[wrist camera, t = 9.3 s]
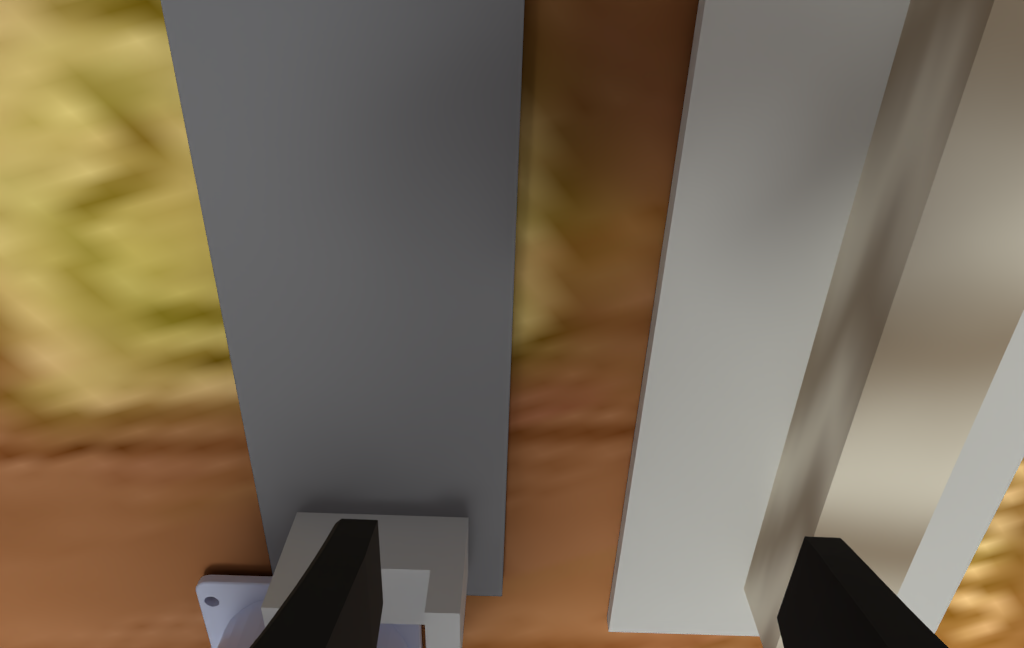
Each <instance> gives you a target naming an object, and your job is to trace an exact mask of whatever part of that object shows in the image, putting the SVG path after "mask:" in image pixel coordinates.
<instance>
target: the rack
mask: <svg viewBox="0 0 1024 648" xmlns="http://www.w3.org/2000/svg"><path fill="white" fill-rule="evenodd" d="M524 1H525V0H161V4H162V9H163V15H164V20H165V25H166V30H167V35H168V40H169V45H170V50H171V56H172V61H173V66H174V71H175V76H176V81H177V86H178V92H179V97H180V102H181V107H182V112H183V117H184V122H185V127H186V133H187V138H188V143H189V148H190V153H191V158H192V163H193V168H194V174H195V179H196V184H197V189H198V194H199V199H200V204H201V210H202V215H203V220H204V225H205V230H206V235H207V240H208V245H209V251H210V256H211V261H212V266H213V271H214V276H215V281H216V286H217V292H218V297H219V302H220V307H221V312H222V317H223V322H224V327H225V333H226V338H227V343H228V348H229V353H230V358H231V363H232V369H233V374H234V379H235V384H236V389H237V394H238V399H239V404H240V410H241V415H242V420H243V425H244V430H245V435H246V440H247V445H248V451H249V456H250V461H251V466H252V471H253V476H254V481H255V487H256V492H257V497H258V502H259V507H260V512H261V517H262V522H263V528H264V533H265V538H266V543H267V548H268V553H269V558H270V563H271V569H272V574H273V577H272V580H271V582H270V585H269V588H268V590H267V593H266V595H265V598H264V601H263V603H262V606H261V611H262V615H263V620H264V625H265V627H266V626H267V625H268V623H269V622H270V621H271V619H272V618H273V616H274V615H275V614H276V612H277V611H278V610H279V608H280V607H281V605H282V604H283V603H284V601H285V600H286V599H287V597H288V596H289V594H290V593H291V592H292V590H293V589H294V587H295V586H296V585H297V583H298V582H299V580H300V579H301V577H302V576H303V574H304V573H305V571H306V570H307V568H308V567H309V565H310V564H311V562H312V561H313V559H314V558H315V556H316V554H317V553H318V551H319V550H320V548H321V547H322V545H323V543H324V542H325V540H326V538H327V537H328V535H329V533H330V532H331V530H332V528H333V526H334V525H335V523H336V522H338V521H339V520H340V519H366V520H378V530H379V546H380V561H381V576H382V592H383V608H382V615H381V622H380V623H383V624H417V625H425V635H426V648H462V642H463V630H464V617H465V605H466V595H476V596H502V585H503V559H504V532H505V506H506V479H507V453H508V426H509V399H510V373H511V346H512V320H513V293H514V267H515V240H516V213H517V187H518V160H519V134H520V107H521V80H522V54H523V27H524Z"/></svg>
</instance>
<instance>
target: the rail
mask: <svg viewBox="0 0 1024 648" xmlns="http://www.w3.org/2000/svg"><path fill="white" fill-rule="evenodd" d="M1023 310H1024V0H911V1H910V4H909V8H908V11H907V15H906V18H905V22H904V25H903V29H902V32H901V36H900V39H899V43H898V46H897V50H896V53H895V57H894V61H893V64H892V68H891V71H890V75H889V78H888V82H887V85H886V89H885V92H884V96H883V99H882V103H881V106H880V110H879V113H878V117H877V120H876V124H875V127H874V131H873V135H872V138H871V142H870V145H869V149H868V152H867V156H866V159H865V163H864V166H863V170H862V173H861V177H860V180H859V184H858V187H857V191H856V194H855V198H854V202H853V205H852V209H851V212H850V216H849V219H848V223H847V226H846V230H845V233H844V237H843V240H842V244H841V247H840V251H839V254H838V258H837V261H836V265H835V268H834V272H833V276H832V279H831V283H830V286H829V290H828V293H827V297H826V300H825V304H824V307H823V311H822V314H821V318H820V321H819V325H818V328H817V332H816V335H815V339H814V342H813V346H812V350H811V353H810V357H809V360H808V364H807V367H806V371H805V374H804V378H803V381H802V385H801V388H800V392H799V395H798V399H797V402H796V406H795V409H794V413H793V417H792V420H791V424H790V427H789V431H788V434H787V438H786V441H785V445H784V448H783V452H782V455H781V459H780V462H779V466H778V469H777V473H776V476H775V480H774V483H773V487H772V491H771V494H770V498H769V501H768V505H767V508H766V512H765V515H764V519H763V522H762V526H761V529H760V533H759V536H758V540H757V543H756V547H755V550H754V554H753V558H752V561H751V565H750V568H749V572H748V575H747V579H746V582H745V586H744V591H745V594H746V597H747V600H748V603H749V606H750V609H751V612H752V615H753V618H754V621H755V624H756V627H757V630H758V633H759V636H760V639H761V642H762V645H763V648H784V646H783V642H782V638H781V633H780V629H779V625H778V621H777V615H778V612H779V609H780V607H781V604H782V601H783V598H784V595H785V592H786V589H787V586H788V583H789V580H790V577H791V575H792V572H793V569H794V566H795V563H796V560H797V557H798V554H799V551H800V548H801V545H802V543H803V540H804V537H805V536H808V537H834V538H841V539H842V540H843V541H844V542H845V543H846V544H847V545H848V546H849V547H850V548H851V549H852V550H853V551H854V552H855V553H856V554H857V555H858V556H859V557H860V558H861V559H862V560H863V561H864V562H865V563H866V564H867V565H868V566H869V567H870V568H871V569H872V570H873V572H874V573H875V574H876V575H877V576H878V577H879V578H880V579H881V580H882V581H883V582H884V583H885V584H886V585H887V586H888V587H889V588H890V589H891V590H892V591H893V592H894V593H895V594H896V595H897V594H898V592H899V590H900V587H901V585H902V583H903V581H904V578H905V576H906V574H907V572H908V569H909V567H910V565H911V563H912V560H913V558H914V556H915V554H916V551H917V549H918V547H919V545H920V542H921V540H922V538H923V536H924V533H925V531H926V529H927V527H928V524H929V522H930V520H931V518H932V515H933V513H934V511H935V509H936V506H937V504H938V502H939V500H940V497H941V495H942V493H943V491H944V488H945V486H946V484H947V482H948V479H949V477H950V475H951V473H952V470H953V468H954V466H955V464H956V461H957V459H958V457H959V455H960V452H961V450H962V448H963V446H964V443H965V441H966V439H967V437H968V434H969V432H970V430H971V428H972V425H973V423H974V421H975V419H976V416H977V414H978V412H979V410H980V407H981V405H982V403H983V400H984V398H985V396H986V394H987V391H988V389H989V387H990V385H991V382H992V380H993V378H994V376H995V373H996V371H997V369H998V367H999V364H1000V362H1001V360H1002V358H1003V355H1004V353H1005V351H1006V349H1007V346H1008V344H1009V342H1010V340H1011V337H1012V335H1013V333H1014V331H1015V328H1016V326H1017V324H1018V322H1019V319H1020V317H1021V315H1022V313H1023Z"/></svg>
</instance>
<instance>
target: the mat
mask: <svg viewBox="0 0 1024 648" xmlns="http://www.w3.org/2000/svg"><path fill="white" fill-rule="evenodd" d="M910 1H911V0H699V4H698V11H697V18H696V24H695V31H694V38H693V44H692V51H691V58H690V65H689V71H688V78H687V85H686V91H685V98H684V105H683V111H682V118H681V125H680V132H679V138H678V145H677V152H676V158H675V165H674V172H673V178H672V185H671V192H670V199H669V205H668V212H667V219H666V225H665V232H664V239H663V245H662V252H661V259H660V266H659V272H658V279H657V286H656V292H655V299H654V306H653V312H652V319H651V326H650V333H649V339H648V346H647V353H646V359H645V366H644V373H643V380H642V386H641V393H640V400H639V406H638V413H637V420H636V426H635V433H634V440H633V447H632V453H631V460H630V467H629V473H628V480H627V487H626V493H625V500H624V507H623V514H622V520H621V527H620V534H619V540H618V547H617V554H616V560H615V567H614V574H613V581H612V587H611V594H610V601H609V607H608V614H607V622H608V630H609V632H636V633H670V634H703V635H737V636H759V633H758V630H757V627H756V624H755V621H754V618H753V615H752V612H751V609H750V606H749V603H748V600H747V597H746V594H745V591H744V586H745V582H746V579H747V575H748V572H749V568H750V565H751V561H752V558H753V554H754V550H755V547H756V543H757V540H758V536H759V533H760V529H761V526H762V522H763V519H764V515H765V512H766V508H767V505H768V501H769V498H770V494H771V491H772V487H773V483H774V480H775V476H776V473H777V469H778V466H779V462H780V459H781V455H782V452H783V448H784V445H785V441H786V438H787V434H788V431H789V427H790V424H791V420H792V417H793V413H794V409H795V406H796V402H797V399H798V395H799V392H800V388H801V385H802V381H803V378H804V374H805V371H806V367H807V364H808V360H809V357H810V353H811V350H812V346H813V342H814V339H815V335H816V332H817V328H818V325H819V321H820V318H821V314H822V311H823V307H824V304H825V300H826V297H827V293H828V290H829V286H830V283H831V279H832V276H833V272H834V268H835V265H836V261H837V258H838V254H839V251H840V247H841V244H842V240H843V237H844V233H845V230H846V226H847V223H848V219H849V216H850V212H851V209H852V205H853V202H854V198H855V194H856V191H857V187H858V184H859V180H860V177H861V173H862V170H863V166H864V163H865V159H866V156H867V152H868V149H869V145H870V142H871V138H872V135H873V131H874V127H875V124H876V120H877V117H878V113H879V110H880V106H881V103H882V99H883V96H884V92H885V89H886V85H887V82H888V78H889V75H890V71H891V68H892V64H893V61H894V57H895V53H896V50H897V46H898V43H899V39H900V36H901V32H902V29H903V25H904V22H905V18H906V15H907V11H908V8H909V4H910ZM1023 457H1024V310H1023V313H1022V315H1021V317H1020V319H1019V322H1018V324H1017V326H1016V328H1015V331H1014V333H1013V335H1012V337H1011V340H1010V342H1009V344H1008V346H1007V349H1006V351H1005V353H1004V355H1003V358H1002V360H1001V362H1000V364H999V367H998V369H997V371H996V373H995V376H994V378H993V380H992V382H991V385H990V387H989V389H988V391H987V394H986V396H985V398H984V400H983V403H982V405H981V407H980V410H979V412H978V414H977V416H976V419H975V421H974V423H973V425H972V428H971V430H970V432H969V434H968V437H967V439H966V441H965V443H964V446H963V448H962V450H961V452H960V455H959V457H958V459H957V461H956V464H955V466H954V468H953V470H952V473H951V475H950V477H949V479H948V482H947V484H946V486H945V488H944V491H943V493H942V495H941V497H940V500H939V502H938V504H937V506H936V509H935V511H934V513H933V515H932V518H931V520H930V522H929V524H928V527H927V529H926V531H925V533H924V536H923V538H922V540H921V542H920V545H919V547H918V549H917V551H916V554H915V556H914V558H913V560H912V563H911V565H910V567H909V569H908V572H907V574H906V576H905V578H904V581H903V583H902V585H901V587H900V590H899V592H898V594H897V596H898V597H899V598H900V599H901V601H902V602H903V603H904V604H905V605H906V606H907V607H908V608H909V609H910V610H911V611H912V612H913V613H914V614H915V615H916V616H917V617H918V618H919V619H920V620H921V621H922V622H923V623H924V624H925V625H926V626H927V627H928V628H929V629H930V630H931V631H932V632H933V633H934V634H935V632H936V630H937V628H938V626H939V624H940V622H941V620H942V618H943V616H944V614H945V612H946V610H947V608H948V606H949V604H950V602H951V600H952V598H953V596H954V594H955V592H956V590H957V588H958V586H959V584H960V582H961V580H962V578H963V576H964V574H965V572H966V570H967V568H968V566H969V564H970V562H971V560H972V558H973V556H974V554H975V552H976V550H977V548H978V546H979V544H980V542H981V541H982V539H983V537H984V535H985V533H986V531H987V529H988V527H989V525H990V523H991V521H992V519H993V517H994V515H995V513H996V511H997V509H998V507H999V505H1000V503H1001V501H1002V499H1003V497H1004V495H1005V493H1006V491H1007V489H1008V487H1009V485H1010V483H1011V481H1012V479H1013V477H1014V475H1015V473H1016V471H1017V469H1018V467H1019V465H1020V463H1021V461H1022V459H1023Z"/></svg>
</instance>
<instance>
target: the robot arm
mask: <svg viewBox="0 0 1024 648" xmlns="http://www.w3.org/2000/svg"><path fill="white" fill-rule="evenodd" d="M272 577H273V576H240V575H205V576H203V577H201V579H200V580H199V582H198V584H197V586H196V593H197V597H198V600H199V604H200V607H201V611H202V615H203V618H204V622H205V626H206V629H207V633H208V636H209V640H210V644H211V647H212V648H422V630H421V625H417V624H383V623H380V622H381V615H382V608H383V592H382V576H381V561H380V546H379V530H378V520H366V519H340V520H339V521H338V522H336V523H335V525H334V526H333V528H332V530H331V532H330V533H329V535H328V537H327V538H326V540H325V542H324V543H323V545H322V547H321V548H320V550H319V551H318V553H317V554H316V556H315V558H314V559H313V561H312V562H311V564H310V565H309V567H308V568H307V570H306V571H305V573H304V574H303V576H302V577H301V579H300V580H299V582H298V583H297V585H296V586H295V587H294V589H293V590H292V592H291V593H290V594H289V596H288V597H287V599H286V600H285V601H284V603H283V604H282V605H281V607H280V608H279V610H278V611H277V612H276V614H275V615H274V616H273V618H272V619H271V621H270V622H269V623H268V625H267V626H266V627H265V625H264V620H263V615H262V611H261V606H262V603H263V601H264V598H265V595H266V593H267V590H268V588H269V585H270V582H271V580H272ZM777 621H778V625H779V629H780V633H781V638H782V642H783V646H784V648H948V647H947V646H946V645H945V644H944V643H943V642H942V641H941V640H940V639H939V638H938V637H937V636H936V635H935V634H934V633H933V632H932V631H931V630H930V629H929V628H928V627H927V626H926V625H925V624H924V623H923V622H922V621H921V620H920V619H919V618H918V617H917V616H916V615H915V614H914V613H913V612H912V611H911V610H910V609H909V608H908V607H907V606H906V605H905V604H904V603H903V602H902V601H901V599H900V598H899V597H898V596H897V595H896V594H895V593H894V592H893V591H892V590H891V589H890V588H889V587H888V586H887V585H886V584H885V583H884V582H883V581H882V580H881V579H880V578H879V577H878V576H877V575H876V574H875V573H874V572H873V570H872V569H871V568H870V567H869V566H868V565H867V564H866V563H865V562H864V561H863V560H862V559H861V558H860V557H859V556H858V555H857V554H856V553H855V552H854V551H853V550H852V549H851V548H850V547H849V546H848V545H847V544H846V543H845V542H844V541H843V540H842V539H841V538H834V537H808V536H805V537H804V540H803V543H802V545H801V548H800V551H799V554H798V557H797V560H796V563H795V566H794V569H793V572H792V575H791V577H790V580H789V583H788V586H787V589H786V592H785V595H784V598H783V601H782V604H781V607H780V609H779V612H778V615H777Z"/></svg>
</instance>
